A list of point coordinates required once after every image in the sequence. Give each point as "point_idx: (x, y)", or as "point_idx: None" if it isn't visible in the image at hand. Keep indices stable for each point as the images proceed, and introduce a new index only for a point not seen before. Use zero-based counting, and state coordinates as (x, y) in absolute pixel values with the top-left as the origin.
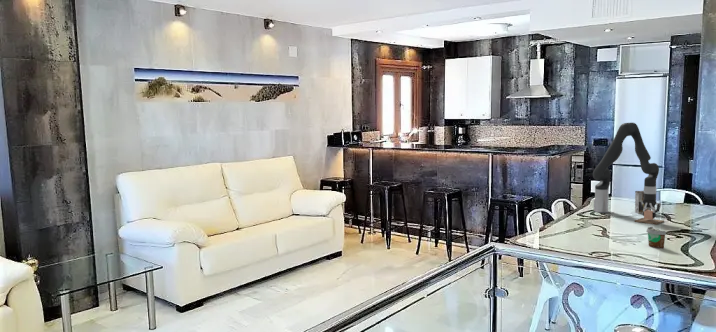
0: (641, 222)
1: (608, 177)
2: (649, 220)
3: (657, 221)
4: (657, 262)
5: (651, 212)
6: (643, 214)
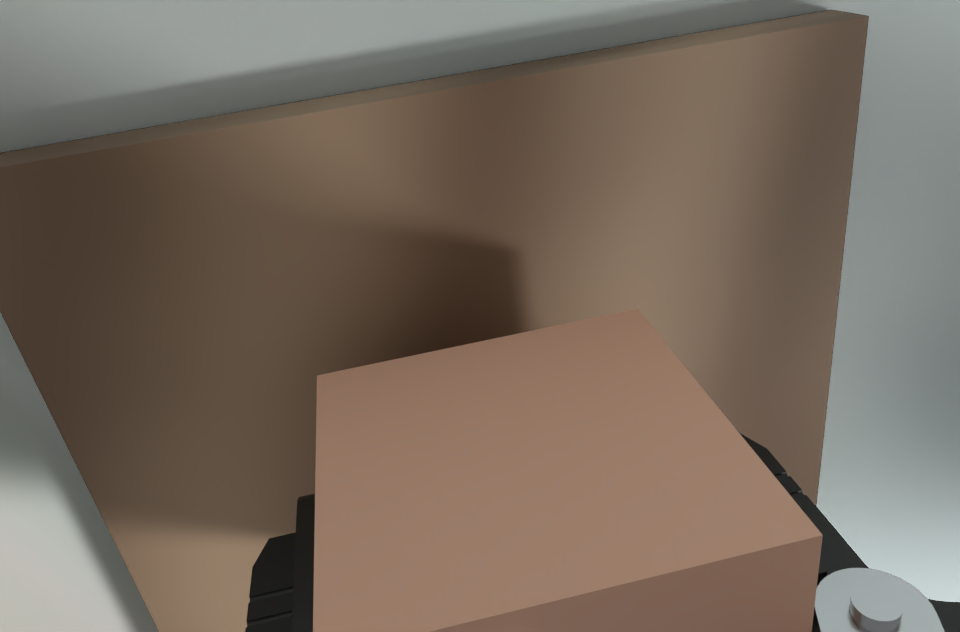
0: (581, 57)
1: None
2: None
3: (208, 491)
4: None
5: (333, 629)
6: None
